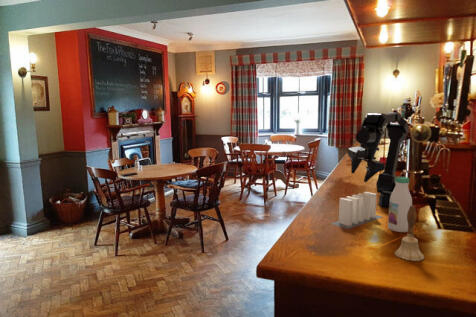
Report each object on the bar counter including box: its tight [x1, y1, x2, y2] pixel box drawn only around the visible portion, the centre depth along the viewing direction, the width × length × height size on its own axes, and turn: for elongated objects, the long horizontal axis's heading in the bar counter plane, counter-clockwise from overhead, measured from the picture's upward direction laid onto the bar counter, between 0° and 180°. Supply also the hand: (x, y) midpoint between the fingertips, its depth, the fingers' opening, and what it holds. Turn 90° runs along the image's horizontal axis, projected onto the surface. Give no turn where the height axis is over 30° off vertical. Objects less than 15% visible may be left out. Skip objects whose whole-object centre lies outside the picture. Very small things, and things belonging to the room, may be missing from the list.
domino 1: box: [338, 197, 353, 226], centre depth 137 cm, size 2×5×10 cm, turn 37°
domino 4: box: [357, 192, 371, 220], centre depth 144 cm, size 2×5×10 cm, turn 37°
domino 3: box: [351, 194, 365, 222], centre depth 142 cm, size 2×5×10 cm, turn 37°
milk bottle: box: [387, 176, 413, 233], centre depth 131 cm, size 8×8×20 cm
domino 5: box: [363, 191, 378, 218], centre depth 146 cm, size 2×5×10 cm, turn 37°
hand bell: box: [394, 204, 425, 262], centre depth 108 cm, size 8×8×16 cm
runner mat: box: [330, 214, 383, 230], centre depth 142 cm, size 24×8×1 cm, turn 127°
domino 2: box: [345, 195, 359, 224], centre depth 139 cm, size 2×5×10 cm, turn 37°
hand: (358, 177), depth 150 cm, fingers open, 9 cm apart
